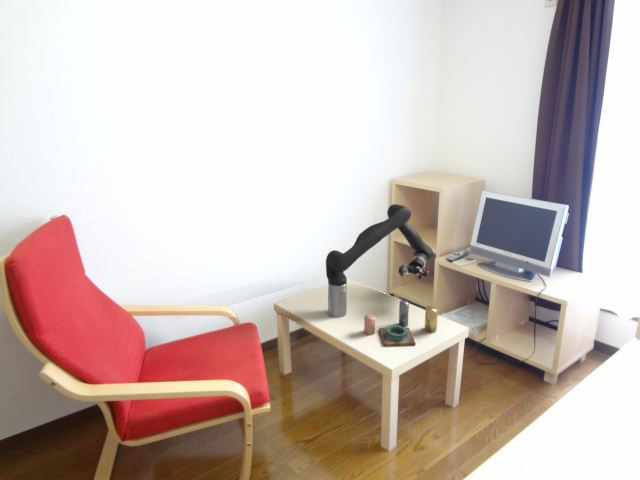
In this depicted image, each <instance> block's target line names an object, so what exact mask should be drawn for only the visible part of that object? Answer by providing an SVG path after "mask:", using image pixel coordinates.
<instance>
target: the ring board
mask: <svg viewBox="0 0 640 480" xmlns="http://www.w3.org/2000/svg"><path fill="white" fill-rule="evenodd" d="M378 331H379V334H380V338H381V341H382V344H383V347H407V346H409V347H410V346H416V341H415V338H414V337H413V334H412V331H411V330H410V327H409V326H407V327H401V326H399V325H390V326H389V327H379V329H378Z"/></svg>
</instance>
